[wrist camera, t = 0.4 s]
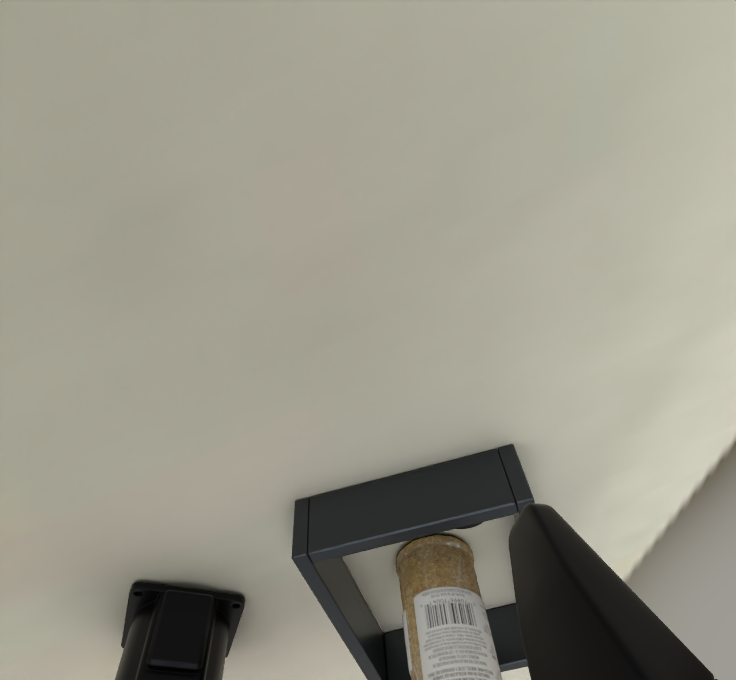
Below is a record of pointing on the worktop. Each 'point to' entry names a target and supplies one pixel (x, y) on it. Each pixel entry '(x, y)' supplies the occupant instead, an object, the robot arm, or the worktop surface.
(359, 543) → the rectangular frame
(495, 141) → the worktop surface
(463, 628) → the sprinkles bottle
